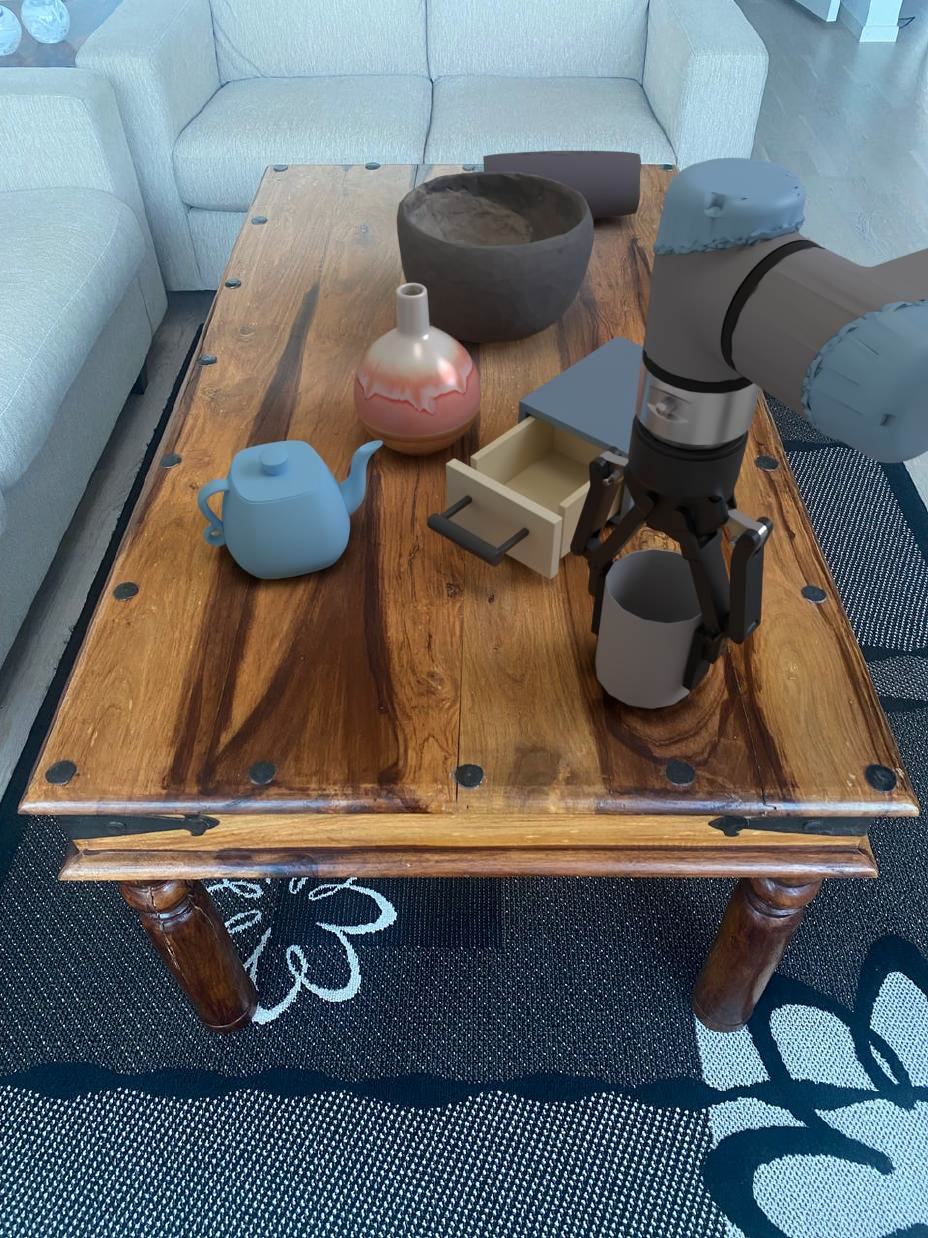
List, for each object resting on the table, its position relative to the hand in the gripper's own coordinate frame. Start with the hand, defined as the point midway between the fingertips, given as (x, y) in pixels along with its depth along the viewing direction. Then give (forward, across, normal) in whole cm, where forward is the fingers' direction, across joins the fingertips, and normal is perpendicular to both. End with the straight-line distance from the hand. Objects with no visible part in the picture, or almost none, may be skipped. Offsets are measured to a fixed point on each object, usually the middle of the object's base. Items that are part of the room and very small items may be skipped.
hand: (648, 651), depth 76 cm
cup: (+3, 0, 0) cm, 3 cm away
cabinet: (+3, -19, +23) cm, 30 cm away
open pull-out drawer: (+2, -19, +8) cm, 21 cm away
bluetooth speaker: (+2, -61, +66) cm, 90 cm away
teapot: (+3, -35, -8) cm, 36 cm away
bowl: (+3, -49, +37) cm, 62 cm away
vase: (+3, -38, +12) cm, 40 cm away
